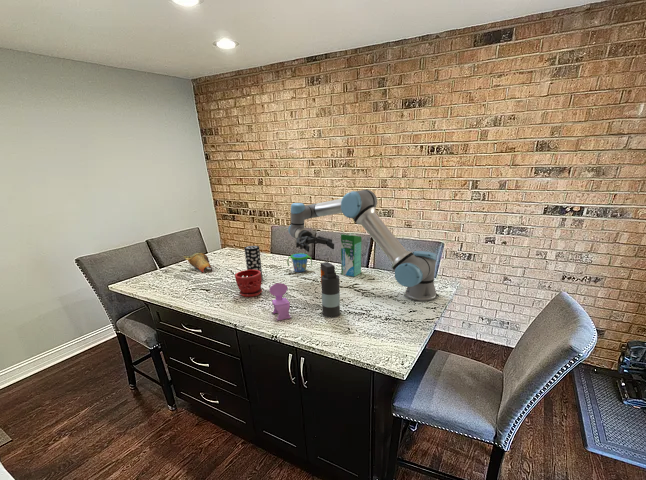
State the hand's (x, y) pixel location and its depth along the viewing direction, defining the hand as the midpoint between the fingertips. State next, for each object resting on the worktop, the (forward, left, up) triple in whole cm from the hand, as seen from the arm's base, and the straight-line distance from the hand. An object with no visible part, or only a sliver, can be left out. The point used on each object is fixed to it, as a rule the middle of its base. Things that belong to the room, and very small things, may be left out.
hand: (321, 247), depth 166 cm
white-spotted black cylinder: (+47, +5, -26) cm, 54 cm away
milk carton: (+8, -38, -26) cm, 46 cm away
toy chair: (-1, +30, -26) cm, 40 cm away
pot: (+95, +11, -26) cm, 99 cm away
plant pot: (+32, +21, -26) cm, 46 cm away
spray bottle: (-16, +15, -25) cm, 34 cm away
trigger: (-12, +13, -12) cm, 21 cm away
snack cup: (+38, -24, -26) cm, 52 cm away
